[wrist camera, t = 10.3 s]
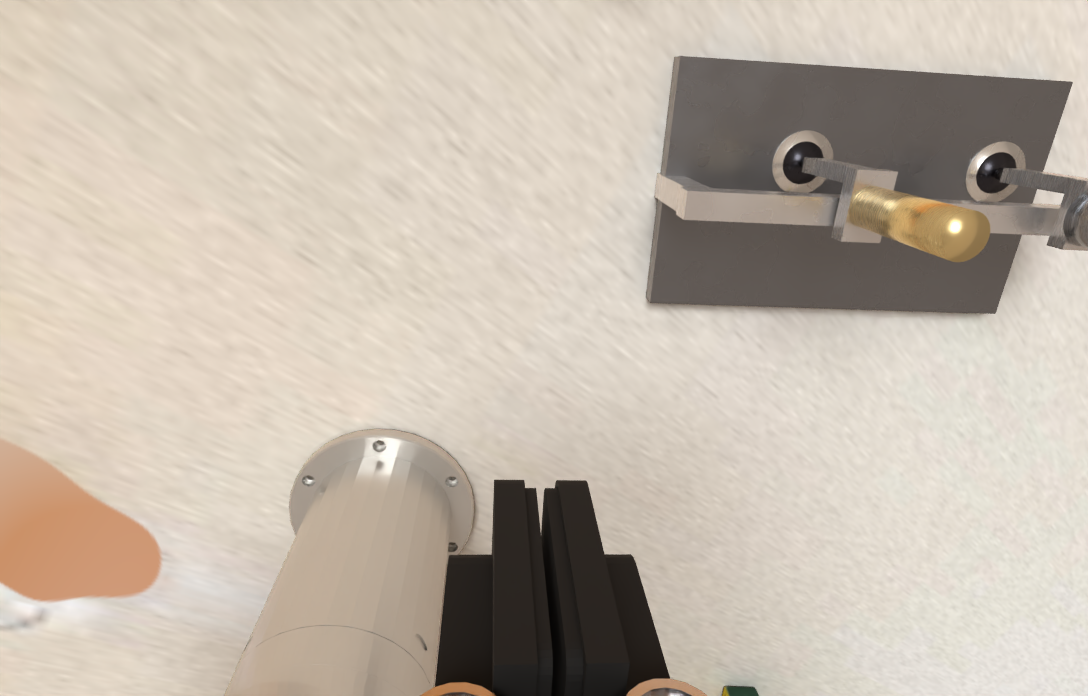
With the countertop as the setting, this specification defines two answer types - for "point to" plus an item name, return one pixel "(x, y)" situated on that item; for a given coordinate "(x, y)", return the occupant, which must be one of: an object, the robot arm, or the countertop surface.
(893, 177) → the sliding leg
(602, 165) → the countertop surface
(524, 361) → the countertop surface
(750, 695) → the crayon box
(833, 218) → the divider frame
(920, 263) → the hole plate
